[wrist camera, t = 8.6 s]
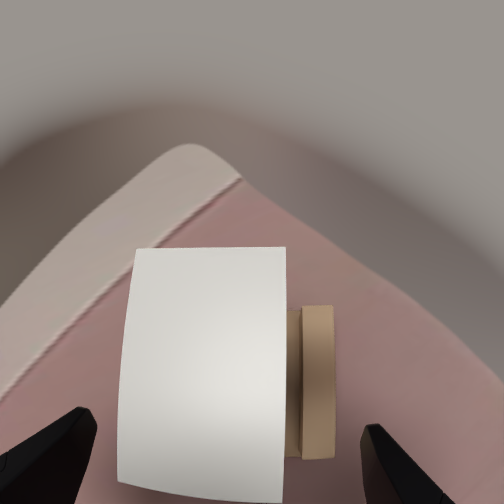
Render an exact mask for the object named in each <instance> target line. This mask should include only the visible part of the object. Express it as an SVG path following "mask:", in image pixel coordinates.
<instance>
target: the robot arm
mask: <svg viewBox="0 0 504 504" xmlns="http://www.w3.org/2000/svg"><path fill="white" fill-rule="evenodd" d="M96 432H97V423H96V421H95V419H94V417H93V415H92V413H91V411H90V410H89V409H88V408H84V407H76V408H75V409H73V410H72V411H70V412H69V413H67V414H66V415H64V416H62V417H61V418H59V419H58V420H56V421H55V422H53V423H52V424H50V425H48V426H47V427H45V428H44V429H42V430H41V431H39V432H37V433H36V434H34V435H33V436H31V437H30V438H28V439H26V440H25V441H23V442H22V443H20V444H18V445H17V446H15V447H14V448H12V449H10V450H9V451H8V452H5V453H4V454H2V455H0V504H74V503H75V500H76V497H77V494H78V491H79V488H80V486H81V483H82V480H83V477H84V474H85V472H86V469H87V466H88V463H89V459H90V456H91V451H92V447H93V443H94V440H95V436H96ZM360 449H361V460H362V473H363V486H364V492H365V497H366V502H367V504H455V503H454V502H453V501H452V500H451V499H450V498H449V497H448V496H447V495H446V494H445V493H443V491H442V490H441V489H440V488H439V487H438V486H437V485H436V483H435V482H434V481H433V480H432V479H431V478H430V477H429V476H428V475H427V474H426V473H425V472H424V471H423V470H422V469H421V468H420V467H419V466H418V465H417V464H416V462H415V461H414V460H413V459H412V458H411V457H410V456H409V455H408V454H407V453H406V452H405V451H404V450H403V449H402V448H401V447H400V445H399V444H398V443H397V442H396V441H395V440H394V439H393V438H392V437H391V436H390V435H389V434H388V433H387V432H386V430H385V429H384V428H383V427H382V426H381V425H380V424H369V425H366V426H365V429H364V432H363V435H362V438H361V441H360Z"/></svg>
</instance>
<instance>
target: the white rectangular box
mask: <svg viewBox="0 0 504 504" xmlns="http://www.w3.org/2000/svg"><path fill="white" fill-rule="evenodd" d="M285 409H286V248H285V247H233V248H150V249H137V250H136V256H135V261H134V267H133V273H132V279H131V286H130V292H129V299H128V306H127V314H126V321H125V330H124V339H123V348H122V359H121V370H120V384H119V401H118V426H117V476H118V481H119V482H123V483H127V484H130V485H134V486H139V487H143V488H147V489H152V490H156V491H161V492H166V493H172V494H178V495H184V496H190V497H197V498H205V499H213V500H223V501H235V502H253V503H282V495H283V473H284V446H285Z"/></svg>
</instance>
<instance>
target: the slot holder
mask: <svg viewBox="0 0 504 504" xmlns="http://www.w3.org/2000/svg"><path fill="white" fill-rule="evenodd" d="M335 427H336V377H335V340H334V317H333V305H319V306H302V309H301V311H286V409H285V446H284V457H301V458H302V460H310V459H326V458H335Z"/></svg>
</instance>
